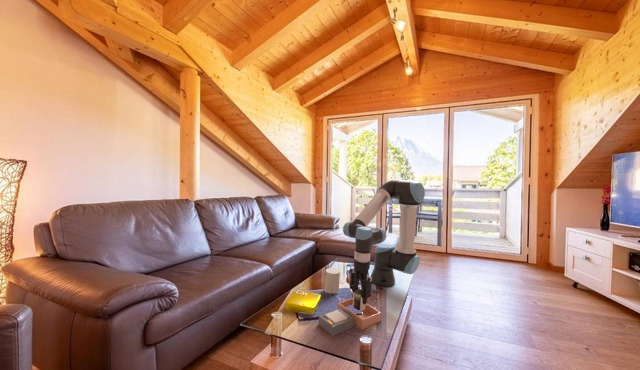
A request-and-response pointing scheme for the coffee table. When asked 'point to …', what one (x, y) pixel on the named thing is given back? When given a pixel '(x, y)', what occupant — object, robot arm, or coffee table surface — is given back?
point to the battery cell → (357, 298)
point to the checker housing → (335, 328)
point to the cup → (332, 280)
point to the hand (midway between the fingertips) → (358, 307)
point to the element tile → (303, 302)
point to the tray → (368, 316)
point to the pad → (336, 317)
